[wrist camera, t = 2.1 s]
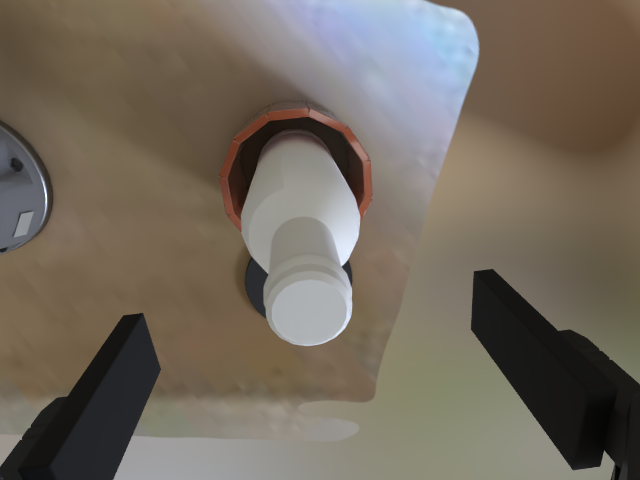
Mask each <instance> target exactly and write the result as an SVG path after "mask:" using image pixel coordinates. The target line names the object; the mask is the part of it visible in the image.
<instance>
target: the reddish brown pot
mask: <svg viewBox="0 0 640 480" xmlns="http://www.w3.org/2000/svg"><path fill="white" fill-rule="evenodd" d="M300 117H310V118H312V119H314V120H316V121H319V122H321V123H323V124H325V125H327V126H330V127H332V128H334V129H336V130H337V131H338V132H339V134H340V135H341V136H342V138H343V139H344V141H345V142H346V144H347V153H348V167H349V173H348V175H347V177H346V179H345V181H346V183H347V184H348V186H349V188H350V190H351V191H352V193H353V195H354V197H355V200H356V203H357V207H358V210H359V213H360V222H361V220H362V218H363V216H364V214H365V212H366V210H367V208H368V206H369V204H370V202H371V200H372V198H371V197H372V178H371V161H370V160H369V156H368V155H367V153H366V152H365V150H364V149H363V147H362V146H361V144H360V143H359V141H358V140H357V138H356V137H355V135H354V134H353V132H352V131H351V129H350V128H349V127H348V126H347V125H346V124H345V123H344V122H342V121H341V120H340V119H339V118H338V117H336V116H335V115H334V114H332V113H330V112H328V111H326V110H324V109H322V108H320V107H317V106H315V105H313V104H311V103H309V102H307V101H305V102H304V101H294V102H285V103H276V104H272V105H269V106H268V107H266V108H265V109H264V110H263V111H261V112H260V113H259V114H258V115H256V116H255V117H254V118H253V119H251V120H250V121H249V122H247V123H246V124H245V125H244V126H243V128H242V129H241V130H240V131H239V132H238V133H237V135H236V136H235V137H234V139H233V140H232V142H231V145H230V147H229V150H228V153H227V156H226V158H225V161H224V164H223V167H222V169H221V172H220V178H219V180H220V185H221V190H222V195H223V200H224V205H225V210H226V214H228V218H229V219H230V220H231V221H232V222H233V224H234V225H235V226H236V227H237V228H238V229H239V230H240V231H241V213H242V210H243V207H244V204H245V201H246V198H247V195H248V192H249V189H248V188H247V187H246V185H245V182H244V177H243V171H242V166H241V160H240V155H241V152H242V150H243V147H244V144H245V142H246V139H247V138H248V137H250V136H251V135H252V134H254V133H255V132H256V131H257V130H259V129H260V128H261V127H263V126H264V125H265V124H266V123H268V122H269V121H273V120H282V119H291V118H300Z"/></svg>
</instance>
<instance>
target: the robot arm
mask: <svg viewBox="0 0 640 480" xmlns="http://www.w3.org/2000/svg"><path fill="white" fill-rule="evenodd" d="M52 202H53V194H52V186H51V182H50V178H49V175H48V173H47V170H46V168H45V166H44V164H43V162H42V161H41V159H40V157H39V156H38V154H37V153H36V152H35V150H34V149H33V148H32V147H31V145H30V144H29V143H28V142H27V141H26V140H25V139H24V138H23V137H22V136H21V135H20V134H18V133H17V132H16V131H15V130H13V129H12V128H11V127H9V126H8V125H6V124H5V123H3V122H2V121H0V254H3V253H6V252H9V251H12V250H14V249H17V248H19V247H20V246H22V245H24V244H25V243H27V242H28V241H30V240H32V239H33V238H34V237H35V236H37V235H38V234H39V233H40V232H41V230H42V229H43V228H44V226H45V225H46V223H47V221H48V219H49V217H50V213H51V210H52ZM471 330H472V331H473V333H474V334H475V335H476V337H477V338H478V340H479V341H480V342H481V344H482V345H483V346H484V348H485V349H486V351H487V352H488V353H489V355H490V356H491V358H492V359H493V360H494V362H495V363H496V364H497V366H498V367H499V369H500V370H501V371H502V373H503V374H504V375H505V377H506V378H507V380H508V381H509V382H510V384H511V385H512V387H513V388H514V389H515V391H516V392H517V394H518V395H519V396H520V398H521V399H522V400H523V402H524V403H525V404H526V406H527V407H528V409H529V410H530V412H531V413H532V414H533V416H534V417H535V418H536V420H537V421H538V422H539V424H540V425H541V427H542V428H543V429H544V431H545V432H546V434H547V435H548V436H549V438H550V439H551V440H552V442H553V443H554V445H555V446H556V447H557V449H558V450H559V451H560V453H561V454H562V456H563V457H564V459H565V460H566V461H567V463H568V464H569V465H570V467H571V468H572V470H578V469H586V468H593V467H600V465H601V461H602V457H603V452H604V450H605V452H606V453H607V454H608V455H609V456H610V458H611V459H612V460H613V461H614V462H615V465H614V469H613V473H612V477H611V480H640V384H639V383H638V382H636V381H635V380H634V379H633V378H632V377H631V376H629V375H628V374H627V373H626V372H625V371H624V370H622V369H621V368H620V367H619V366H618V365H617V364H616V363H615V362H614V361H612V360H610V359H609V357H608V356H607V355H606V354H604V353H603V352H602V351H599V348H597V346H595V345H594V344H593V343H592V342H591V341H590V340H588V339H587V338H586V337H584V336H582V335H580V334H578V333H576V332H574V331H572V330H563V331H557V330H556V328H554V326H553V325H551V324H550V323H549V322H548V321H547V320H546V319H545V318H544V317H543V316H542V315H541V314H540V313H539V312H538V311H537V310H536V309H534V308H533V307H532V306H531V305H530V304H529V303H528V302H527V301H526V300H525V299H524V298H523V297H522V296H521V295H520V294H519V293H518V292H516V291H515V290H514V289H513V288H512V287H511V286H510V285H509V284H508V283H507V282H506V281H505V280H504V279H503V278H502V277H501V276H499V275H498V274H497V273H496V272H495V271H494V270H493V269H490V270H481V271H474V279H473V299H472V320H471ZM160 370H161V368H160V365H159V362H158V359H157V356H156V353H155V349H154V346H153V343H152V340H151V337H150V334H149V330H148V327H147V324H146V321H145V318H144V315H143V313H140V314H132V315H124V316H123V317H122V318H121V320H120V321H119V322H118V324H117V325H116V327H115V328H114V330H113V331H112V333H111V334H110V336H109V337H108V338H107V340H106V341H105V343H104V344H103V346H102V347H101V349H100V350H99V351H98V353H97V354H96V356H95V357H94V359H93V360H92V362H91V363H90V365H89V366H88V367H87V369H86V370H85V372H84V373H83V375H82V376H81V378H80V379H79V381H78V382H77V383H76V385H75V386H74V388H73V389H72V391H71V392H70V394H69V395H68V396H67V397H60V398H56V399H55V400H54V401H53V402H51V403H50V404H49V405H48V406H47V407H46V408H44V409H43V410H42V411H41V412H40V414H39V415H38V416H37V418H36V419H35V420H34V422H33V423H32V424H31V428H28V430H27V431H26V433H25V434H24V435H23V437H22V440H20V441H19V442H18V444H17V445H16V446H15V448H14V449H13V451H12V452H11V453H10V454H9V456H8V457H7V459H6V460H5V461H4V463H3V464H2V465H1V467H0V480H113V479H114V476H115V474H116V472H117V469H118V467H119V465H120V463H121V460H122V458H123V456H124V453H125V451H126V448H127V446H128V444H129V442H130V439H131V437H132V435H133V433H134V430H135V428H136V426H137V423H138V421H139V419H140V416H141V414H142V412H143V410H144V407H145V405H146V403H147V400H148V398H149V396H150V393H151V391H152V389H153V386H154V384H155V382H156V380H157V377H158V375H159V373H160Z"/></svg>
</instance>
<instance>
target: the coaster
mask: <svg viewBox="0 0 640 480" xmlns="http://www.w3.org/2000/svg"><path fill="white" fill-rule="evenodd" d="M342 268H343V269H344V271H345V272H346V273H347V276H348V279H349V282H350V285H351V287H352V271H351V267H350V264H349V261H348V260H347V262H346V263H345V264H344V265H343V266H342ZM267 277H268V273H267V272H266V271H265V270H264V269H263V268H262V267H261V266H260V265H259V264H258V263H257V262H256V261H255V260H254V258H253V257H252V258H251V260H250V262H249V265H248V267H247V272H246V279H245V284H246V291H247V294H248V297H249V299H250V301H251V303H252V305H253V306H254V307H255V309H256V310H257V311H258V312H259V313H260V314H261V315H262V316H264V317H265V318H266V308H265V306H264V297H263V289H264V284H265V282H266V279H267ZM266 319H267V318H266Z"/></svg>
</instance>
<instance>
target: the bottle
mask: <svg viewBox="0 0 640 480" xmlns="http://www.w3.org/2000/svg"><path fill="white" fill-rule="evenodd" d="M359 227H360V213H359V210H358V207H357V203H356V200H355V197H354V195H353V193H352V191H351V190H350V188H349V186H348V184H347V183H346V181H345V179H344V177H343V175H342V174H341V172H340V170H339V168H338V166H337V165H336V163H335V161H334V159H333V158H332V156H331V152H330V150H329V149H328V147H327V146H326V145H325V143H324V142H323V141H322V139H320V138H319V137H318V136H316V135H314V134H313V133H311V132H310V131H307V130H303V129H298V128H293V129H286V130H282V131H281V132H279V133H277V134H275V135H273V136H272V137H271V138H270V139H269V141H268V142H267V143H266V144H265V145H264V146H263V148H262V150H261V153H260V156H259V158H258V161H257V168H256V171H255V174H254V177H253V180H252V183H251V186H250V189H249V192H248V195H247V198H246V201H245V204H244V207H243V210H242V213H241V234H242V236H243V239H244V241H245V244H246V246H247V248H248V251H249V253H250V254H251V256H252V257H253V258H254V260H255V261H256V262H257V263H258V264H259V265H260V266H261V267H262V268H263V269H264V270H265V271H266V272H267V273H268V277H267V279H266V282H265V284H264V289H263V297H264V306H265V308H266V318H267V320H268V323H269V325H270V327H271V329H272V330H273V331H274V332H275V333H276V334H277V335H278V336H279V337H280V338H282V339H284V340H286V341H288V342H290V343H292V344H296V345H303V346H312V345H318V344H323V343H325V342H327V341H329V340H331V339H333V338H335V337H336V336H337V335H338V334H340V333H341V332H342V331H343V330H344V329H345V327H346V326H347V324H348V322H349V320H350V318H351V313H352V301H351V298H352V288H351V285H350V282H349V279H348V276H347V273H346V272H345V271H344V269H343V268H342V266H343V265H344V264H345V263H346V262H347V260H348V258H349V256H350V254H351V252H352V250H353V248H354V246H355V244H356V242H357V239H358V237H359Z"/></svg>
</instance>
